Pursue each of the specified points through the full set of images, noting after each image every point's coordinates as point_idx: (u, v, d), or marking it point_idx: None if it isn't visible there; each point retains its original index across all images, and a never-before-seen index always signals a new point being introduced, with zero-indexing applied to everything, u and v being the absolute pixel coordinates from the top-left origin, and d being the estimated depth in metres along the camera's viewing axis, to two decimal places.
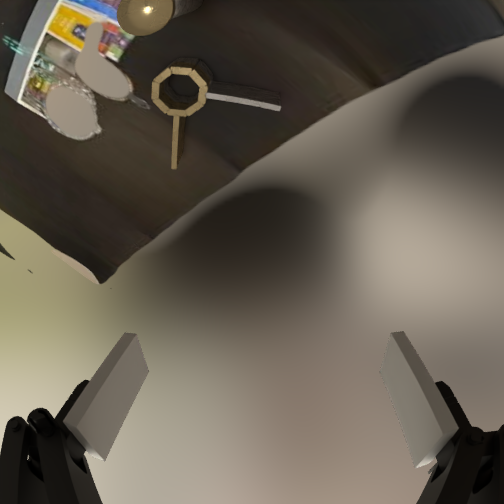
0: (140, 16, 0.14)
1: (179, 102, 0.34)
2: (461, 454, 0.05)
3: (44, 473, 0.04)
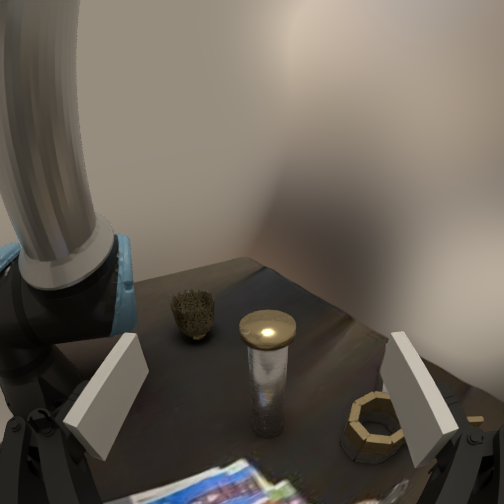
0: (272, 326, 0.23)
1: None
2: (461, 454, 0.05)
3: (44, 473, 0.04)
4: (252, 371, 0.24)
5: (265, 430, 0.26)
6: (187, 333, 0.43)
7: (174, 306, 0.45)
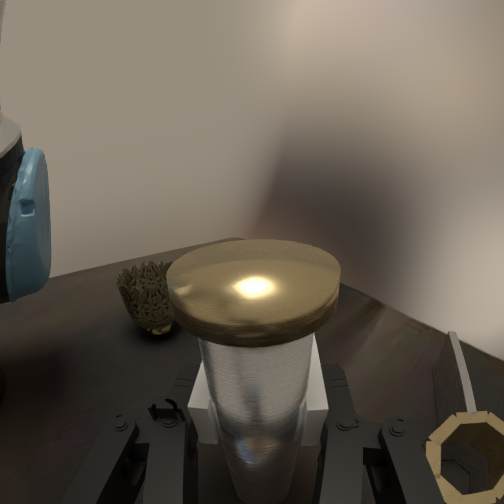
0: (268, 268, 0.07)
1: (489, 472, 0.07)
2: (334, 442, 0.07)
3: (149, 466, 0.06)
4: (214, 403, 0.08)
5: (256, 500, 0.11)
6: (141, 324, 0.27)
7: (125, 284, 0.29)
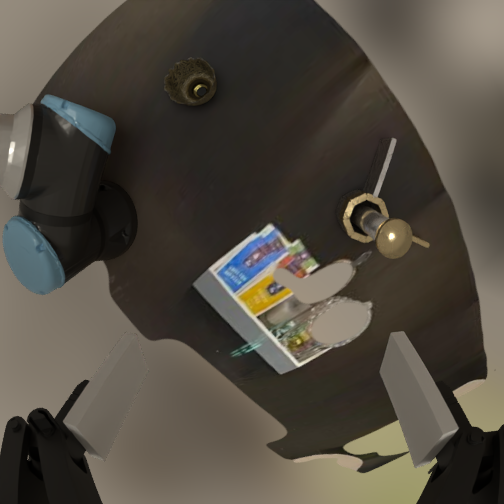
0: (398, 242, 0.29)
1: None
2: (461, 454, 0.05)
3: (44, 473, 0.04)
4: (371, 237, 0.34)
5: None
6: None
7: (170, 85, 0.34)
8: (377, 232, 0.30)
